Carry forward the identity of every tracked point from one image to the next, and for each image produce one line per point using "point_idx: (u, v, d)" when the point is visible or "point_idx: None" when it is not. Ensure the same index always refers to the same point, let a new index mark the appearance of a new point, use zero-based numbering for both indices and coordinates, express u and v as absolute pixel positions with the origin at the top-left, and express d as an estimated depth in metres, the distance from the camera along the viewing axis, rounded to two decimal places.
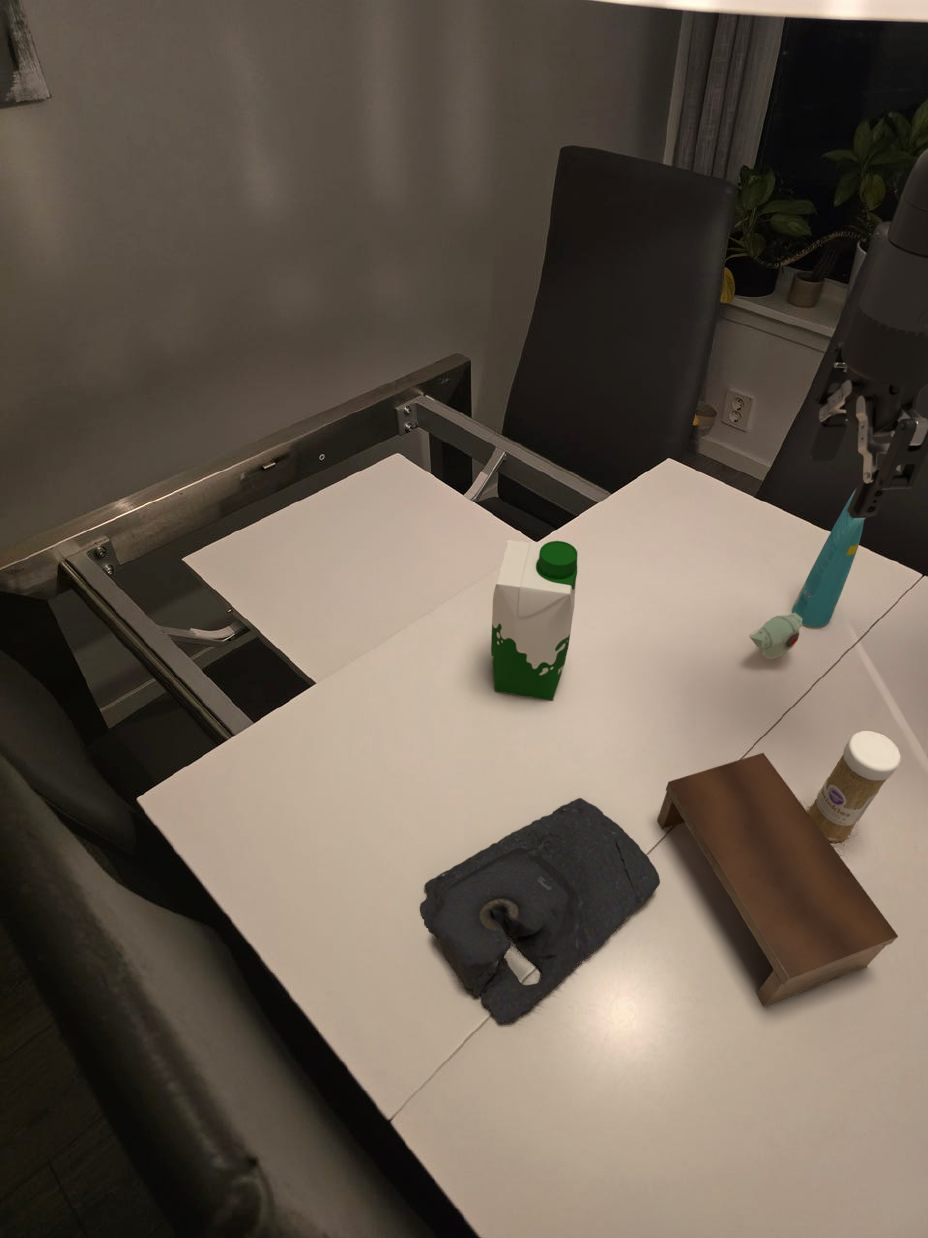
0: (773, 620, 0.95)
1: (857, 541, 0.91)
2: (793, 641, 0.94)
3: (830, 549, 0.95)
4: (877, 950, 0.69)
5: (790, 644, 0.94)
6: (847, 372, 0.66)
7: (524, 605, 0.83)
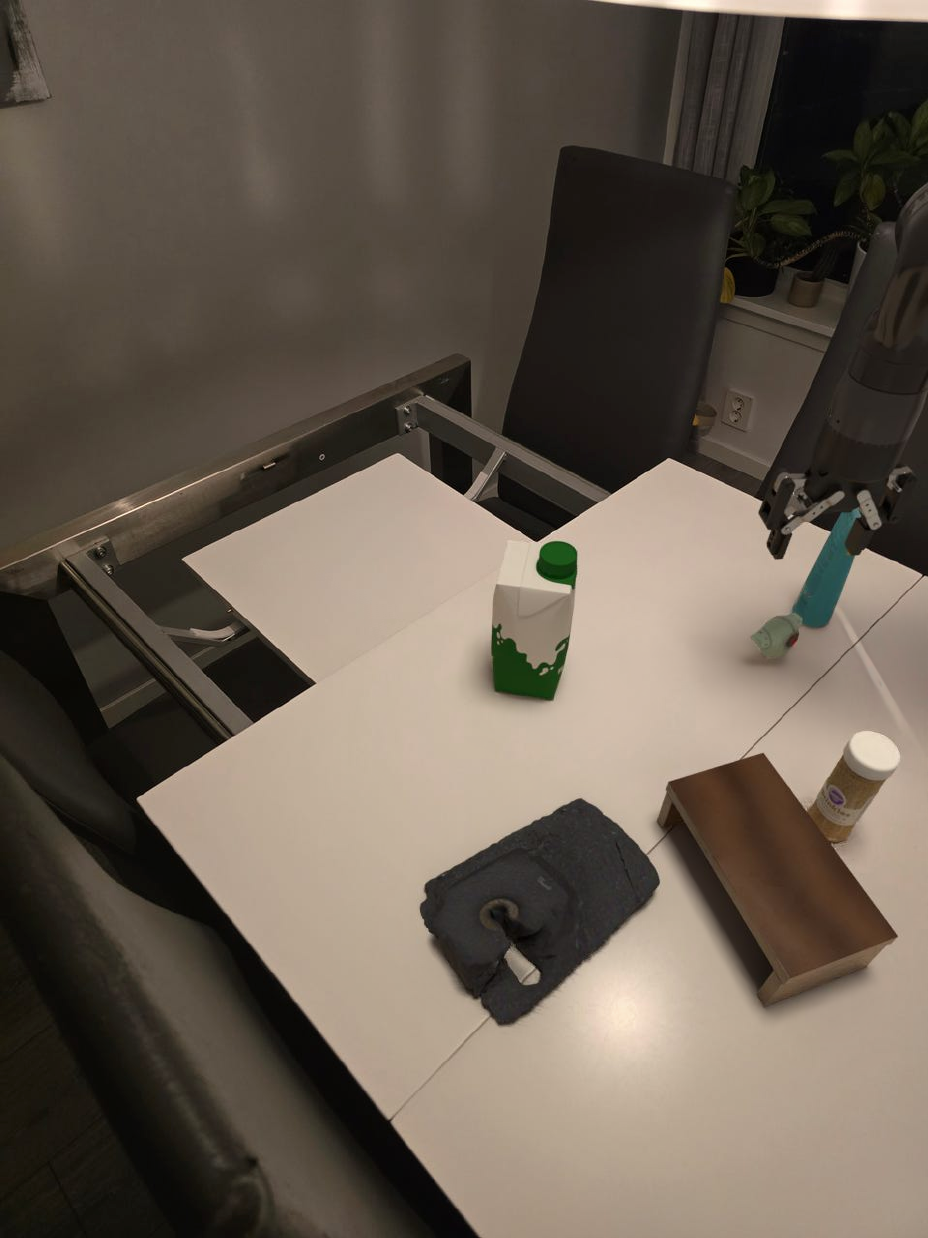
0: (773, 620, 0.95)
1: None
2: (793, 641, 0.94)
3: (830, 549, 0.95)
4: (877, 950, 0.69)
5: (790, 644, 0.94)
6: None
7: (524, 605, 0.83)
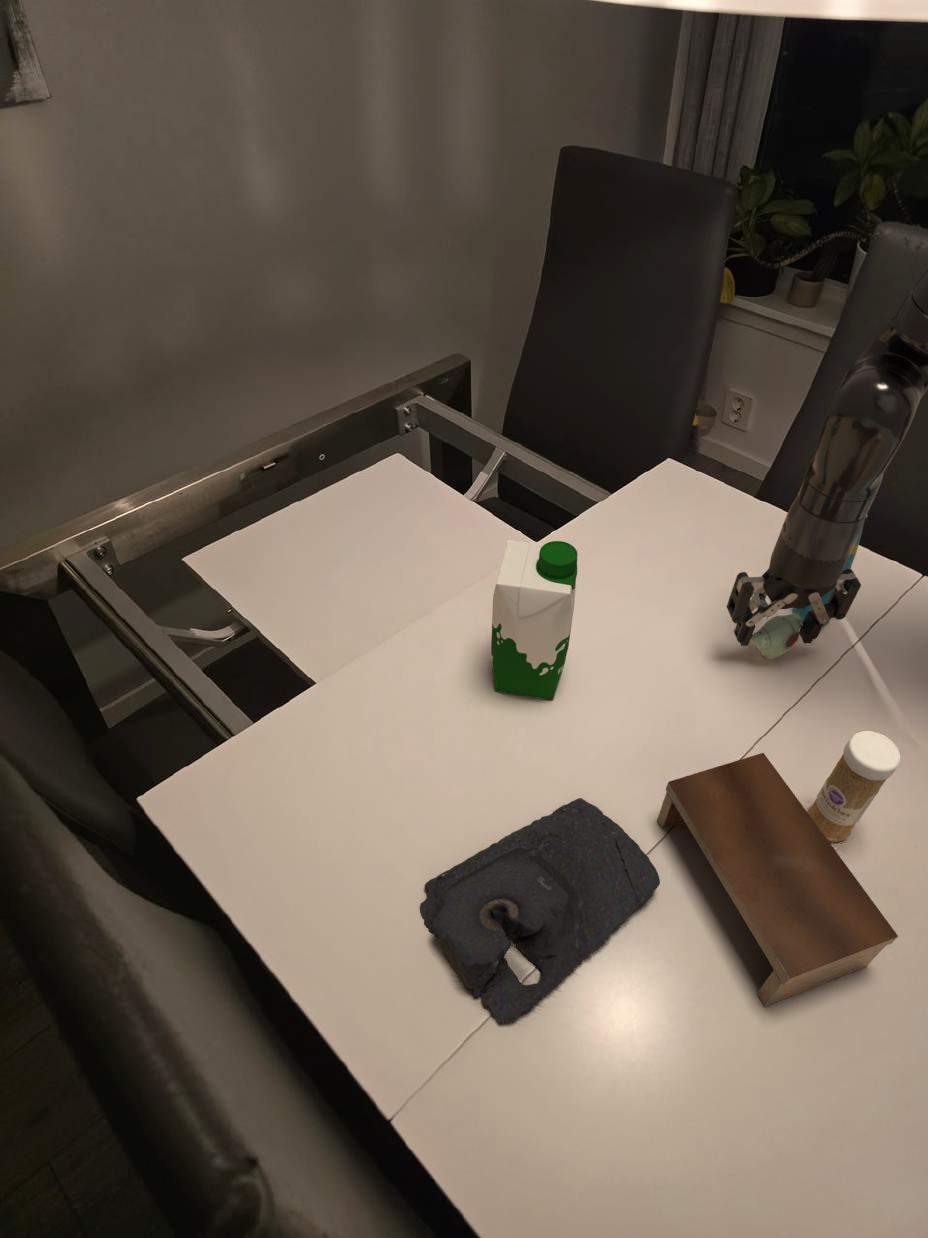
0: (773, 620, 0.95)
1: (857, 541, 0.91)
2: (793, 641, 0.94)
3: None
4: (877, 950, 0.69)
5: (790, 644, 0.94)
6: None
7: (524, 605, 0.83)
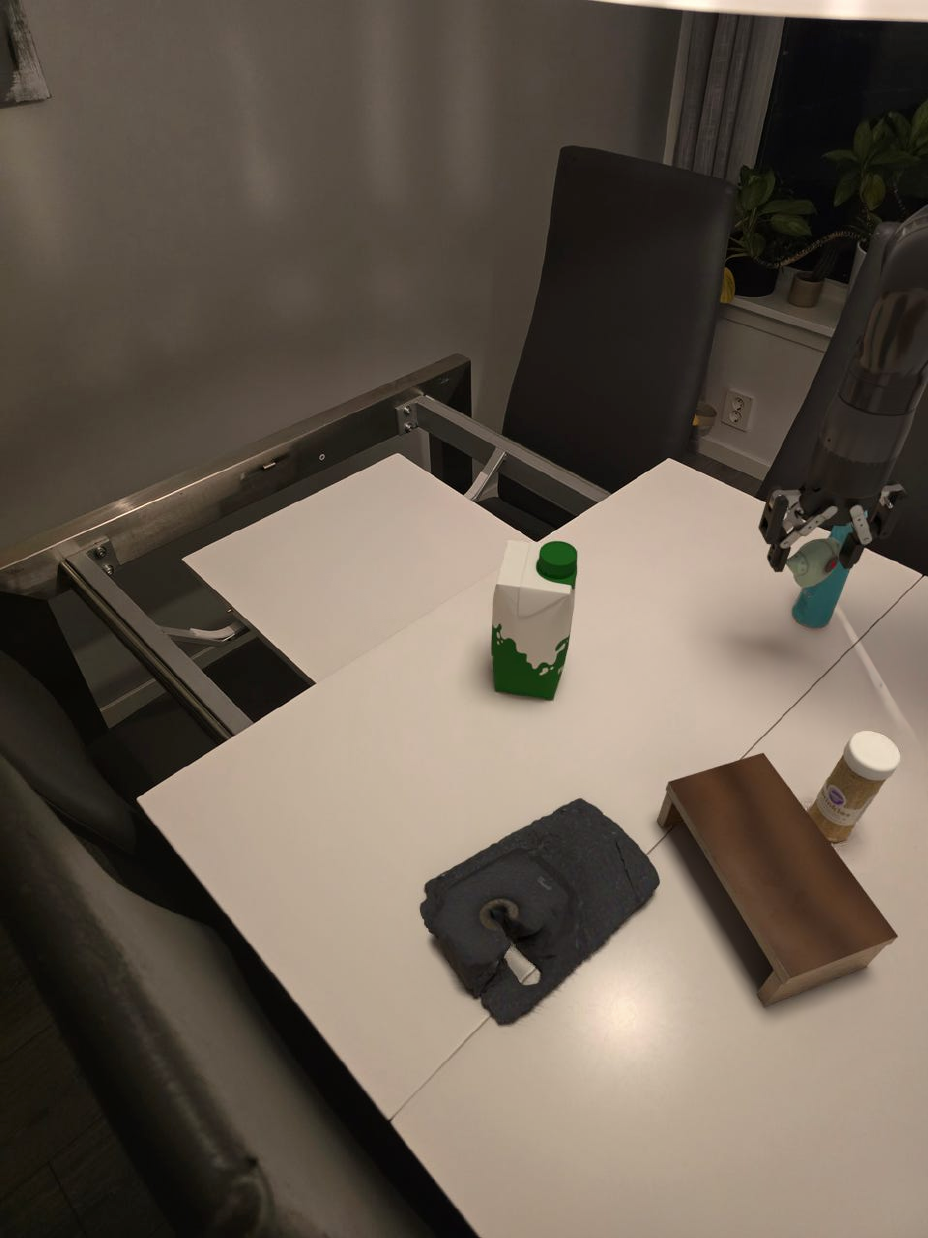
0: (810, 543, 0.86)
1: None
2: (832, 565, 0.86)
3: None
4: (877, 950, 0.69)
5: (829, 569, 0.86)
6: None
7: (524, 605, 0.83)
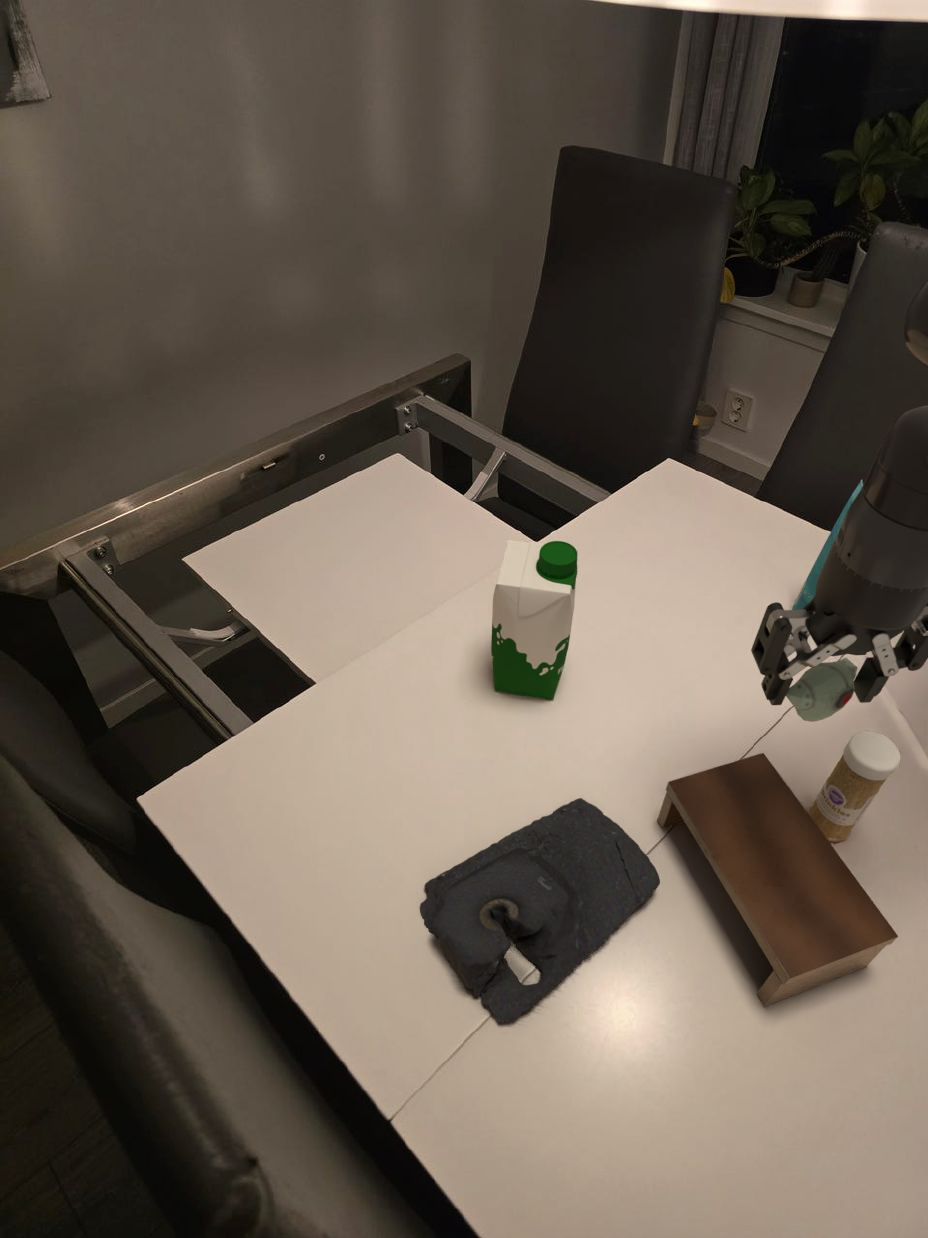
0: (818, 670, 0.67)
1: None
2: (846, 700, 0.66)
3: (830, 549, 0.95)
4: (877, 950, 0.69)
5: (841, 704, 0.66)
6: None
7: (524, 605, 0.83)
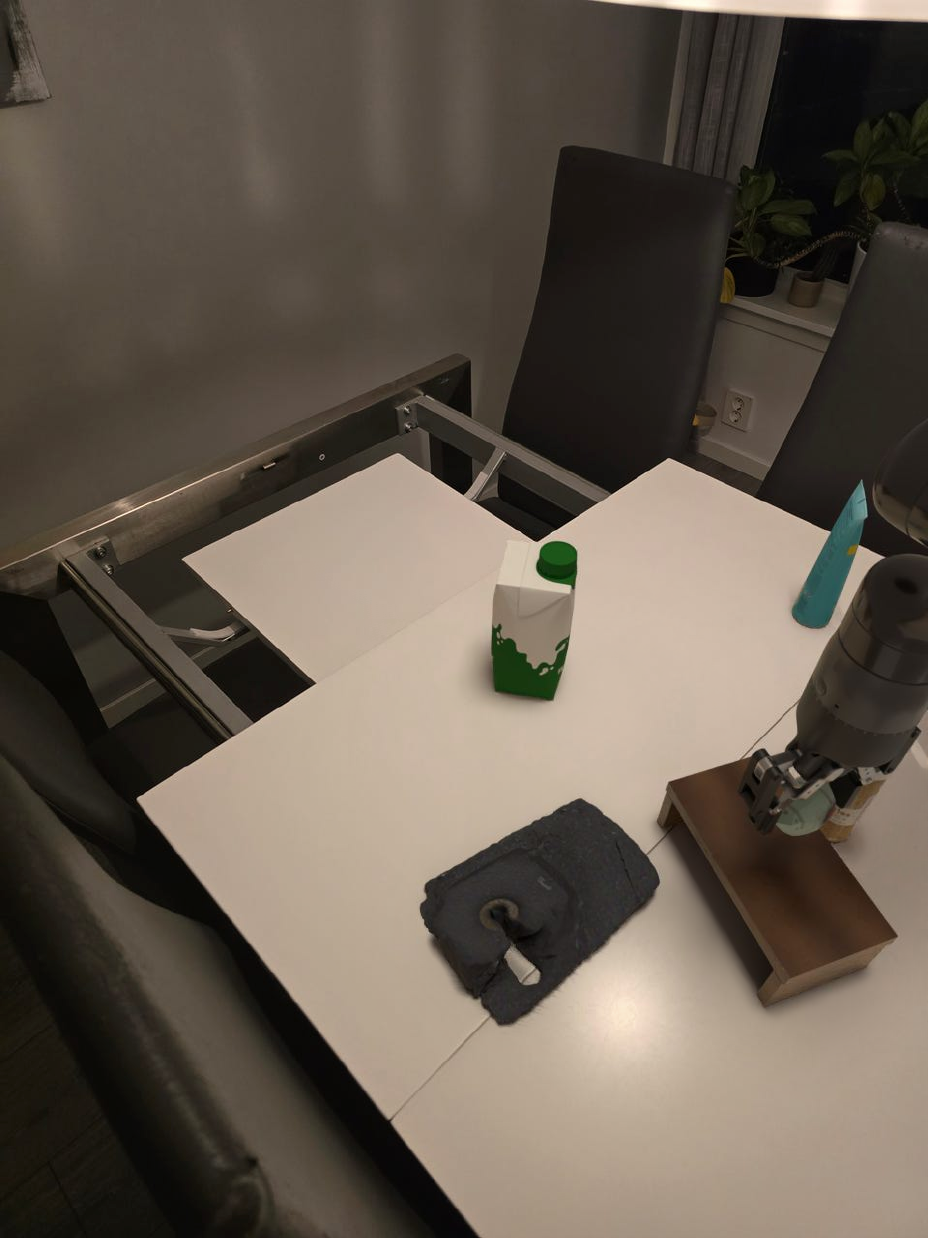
0: None
1: (857, 541, 0.91)
2: (830, 815, 0.65)
3: (830, 549, 0.95)
4: (877, 950, 0.69)
5: (827, 819, 0.65)
6: None
7: (524, 605, 0.83)
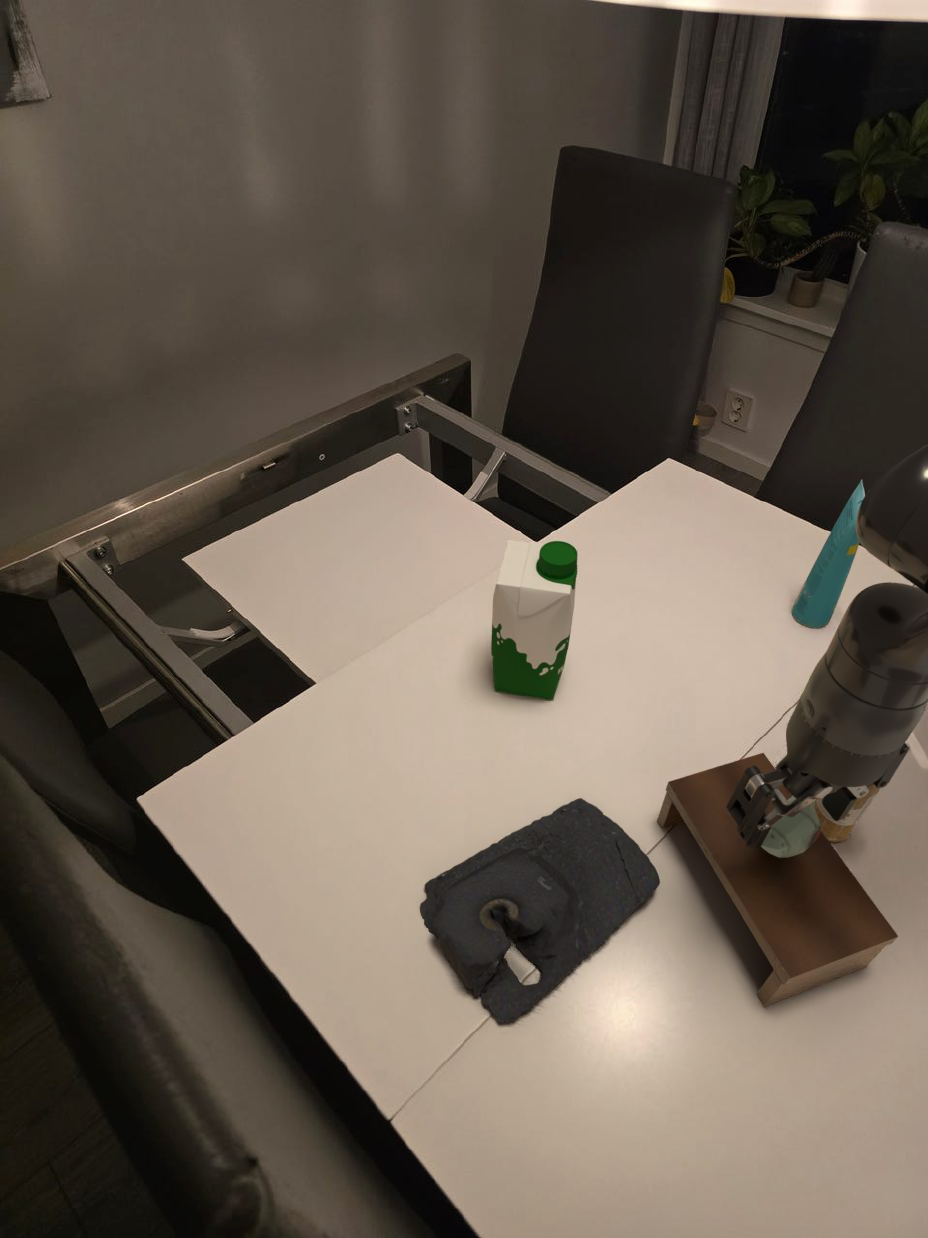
0: None
1: (857, 541, 0.91)
2: (816, 838, 0.68)
3: (830, 549, 0.95)
4: (877, 950, 0.69)
5: (812, 843, 0.68)
6: None
7: (524, 605, 0.83)
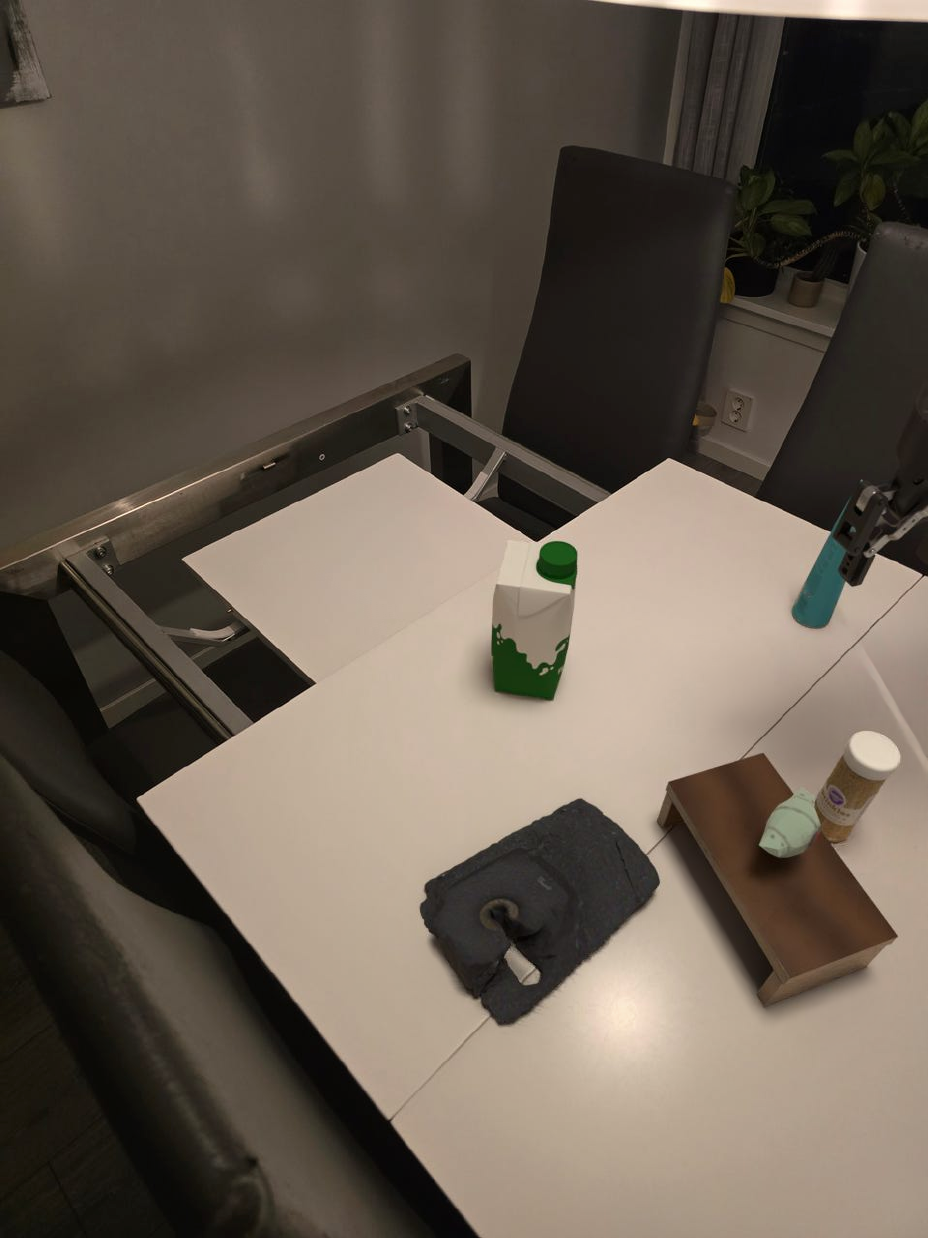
0: (785, 815, 0.68)
1: None
2: (816, 838, 0.68)
3: (830, 549, 0.95)
4: (877, 950, 0.69)
5: (812, 843, 0.68)
6: None
7: (524, 605, 0.83)
